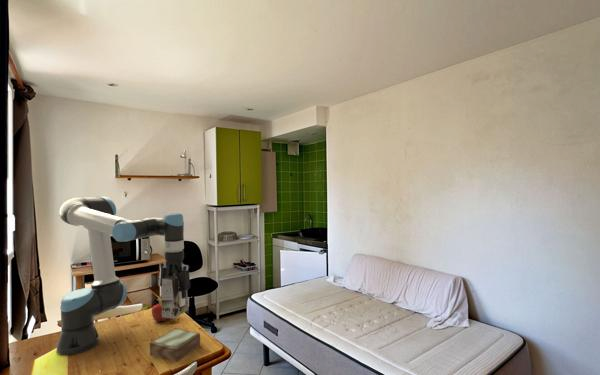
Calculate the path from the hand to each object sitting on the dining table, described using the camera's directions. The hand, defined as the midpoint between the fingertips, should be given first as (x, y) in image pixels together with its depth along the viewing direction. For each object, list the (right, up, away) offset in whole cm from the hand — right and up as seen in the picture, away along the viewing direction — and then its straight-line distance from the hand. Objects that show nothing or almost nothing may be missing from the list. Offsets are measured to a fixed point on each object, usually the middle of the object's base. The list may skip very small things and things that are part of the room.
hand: (175, 304), depth 134 cm
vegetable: (-18, -19, +30) cm, 40 cm away
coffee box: (0, -4, 0) cm, 4 cm away
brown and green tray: (0, -19, 0) cm, 19 cm away
